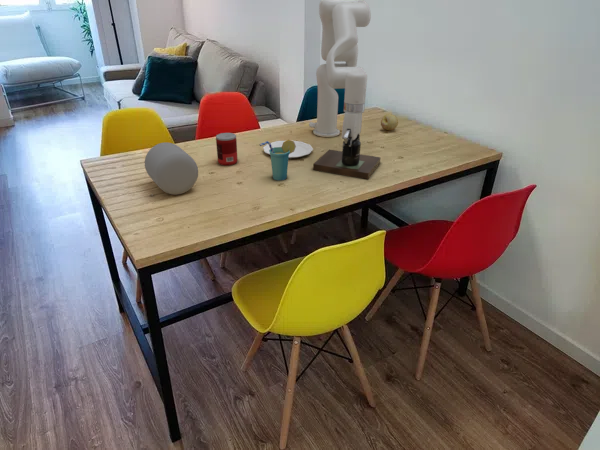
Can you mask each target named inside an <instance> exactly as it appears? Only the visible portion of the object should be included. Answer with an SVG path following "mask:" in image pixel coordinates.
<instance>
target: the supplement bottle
mask: <svg viewBox="0 0 600 450" xmlns="http://www.w3.org/2000/svg"><path fill="white" fill-rule="evenodd" d="M348 138H351V137H348ZM358 139H359V134H358V135H357V137H356V139H355V140H353V141H352V145H351V146H352V155H351V157H347V156H343V147H342V149H341V151H342V164H344V165H346V166H356V165H358V164H359V159H360V154H361V147H362V146H361V145H362V142H361V140H360V141H359V140H358ZM348 141H349V143H350V140H348ZM343 142H344V140H343V141H342V145H343V144H344V143H343Z"/></svg>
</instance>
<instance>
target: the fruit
mask: <svg viewBox="0 0 600 450" xmlns="http://www.w3.org/2000/svg"><path fill="white" fill-rule="evenodd" d="M398 124H399V119H398V117H397V116H396V115H394V114H393V113H386V114H384V115H383V116H382V118H381V120H380V126H381V128H382V130H384V131H388V132H390V131H393V130H395V129H396V128H397V127H398Z"/></svg>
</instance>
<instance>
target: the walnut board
mask: <svg viewBox="0 0 600 450" xmlns="http://www.w3.org/2000/svg"><path fill="white" fill-rule="evenodd" d="M380 164H381V157H380V156H375V155H374V156H373V155H366V154H361V153H360V159H359V164H358V165H356V166H346V165H344V164H342V150H337V149H336V150H335V149H328V150H327V151H326V152H324V154H323V155H321V157H319V158H318V159H317V160H316V161H314V163H313V164H312V169H313V171H318V172H323V173H329V174H334V175H341V176H346V177H351V178H358V179H364V180H369V179H370V178H371V176H372V175H373V174H374V172H375V171H376V169H378V167H379V166H380Z"/></svg>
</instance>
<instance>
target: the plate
mask: <svg viewBox="0 0 600 450" xmlns="http://www.w3.org/2000/svg"><path fill="white" fill-rule="evenodd" d="M287 140H288V139H286V140H275V141H273V142H272V141H271V142H270V143H271V146H272V148H274V147H282V145H283V142H285V141H287ZM290 140H291V141H294V143H295V146H296V147H295V150H294V152H292V153H290V154H289V158H288V159H297V158H301V157H305V156H308V155H310V154H311V153H312V152H313V151H314V148H313V147H312V145H311V144H310V143H306V142H304V141H300V140H299V141H298V140H294V139H293V140H292V139H290ZM262 149H263V152H264V154H266V155H267V154H268V155H270V153H269V150H270V147H269V144H265V145H263V147H262Z"/></svg>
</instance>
